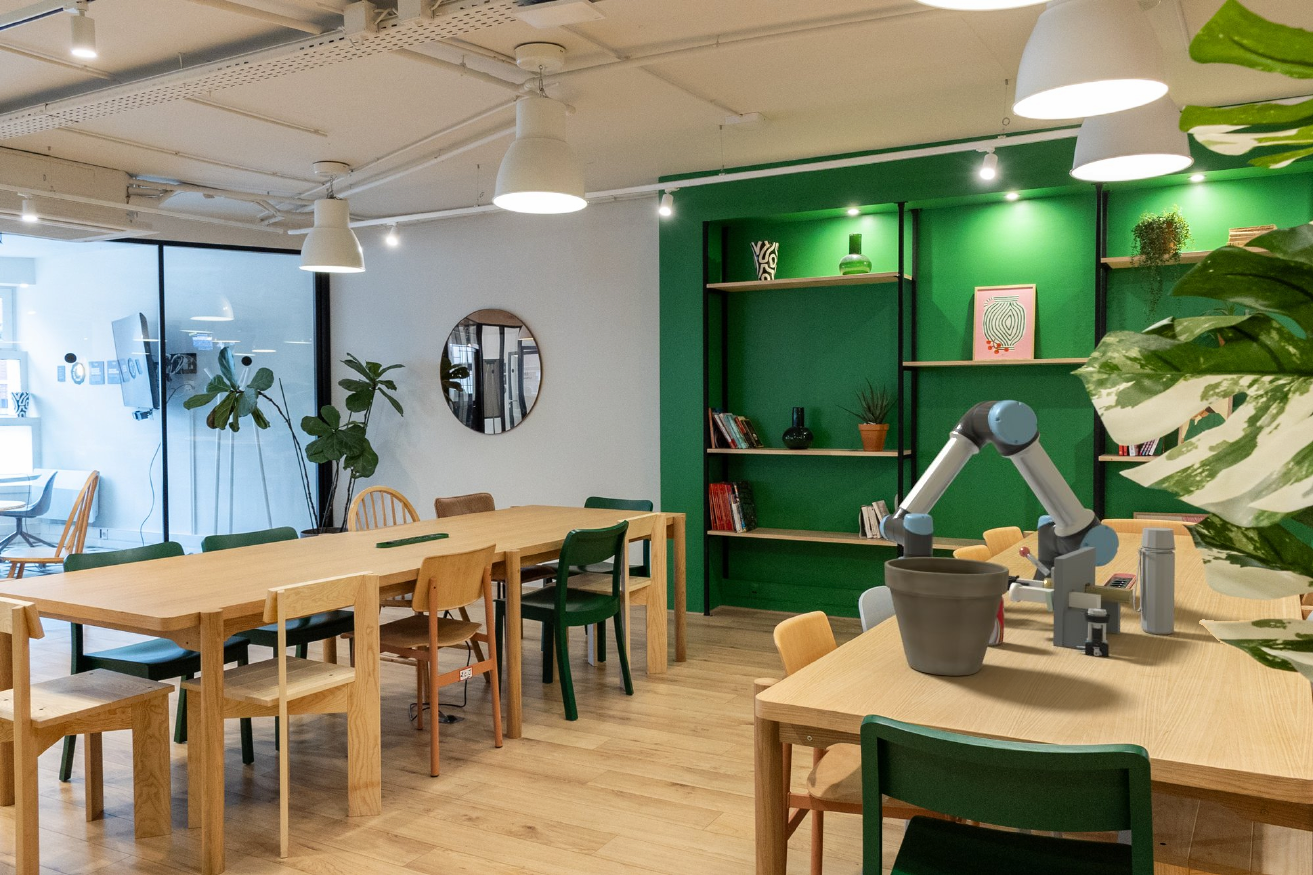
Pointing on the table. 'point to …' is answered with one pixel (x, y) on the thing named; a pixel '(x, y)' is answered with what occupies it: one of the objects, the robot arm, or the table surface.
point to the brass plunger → (1102, 592)
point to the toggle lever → (1033, 560)
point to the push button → (1096, 632)
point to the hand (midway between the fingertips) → (1043, 587)
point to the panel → (1073, 577)
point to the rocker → (1050, 600)
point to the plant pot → (945, 610)
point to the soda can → (998, 627)
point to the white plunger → (1038, 594)
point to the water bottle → (1156, 580)
